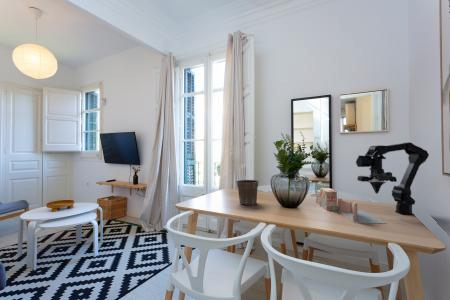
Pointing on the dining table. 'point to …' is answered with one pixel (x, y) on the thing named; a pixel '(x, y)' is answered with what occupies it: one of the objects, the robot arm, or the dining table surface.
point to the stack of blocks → (327, 199)
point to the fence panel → (354, 211)
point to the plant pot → (247, 191)
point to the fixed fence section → (344, 206)
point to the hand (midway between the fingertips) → (376, 193)
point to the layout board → (362, 217)
